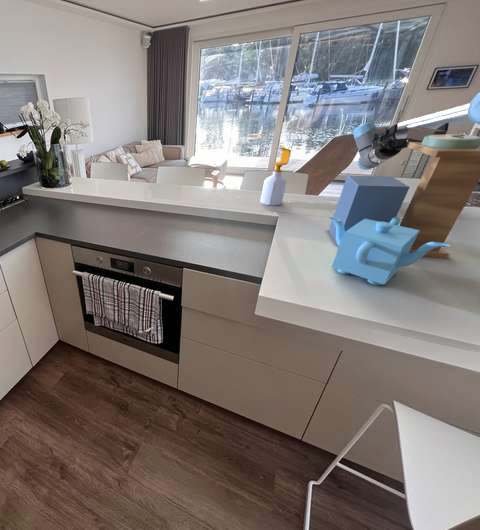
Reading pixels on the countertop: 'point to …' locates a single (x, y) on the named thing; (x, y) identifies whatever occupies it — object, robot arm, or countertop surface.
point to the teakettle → (377, 249)
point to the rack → (441, 194)
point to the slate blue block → (368, 200)
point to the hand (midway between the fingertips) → (420, 127)
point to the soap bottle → (275, 182)
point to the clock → (442, 138)
